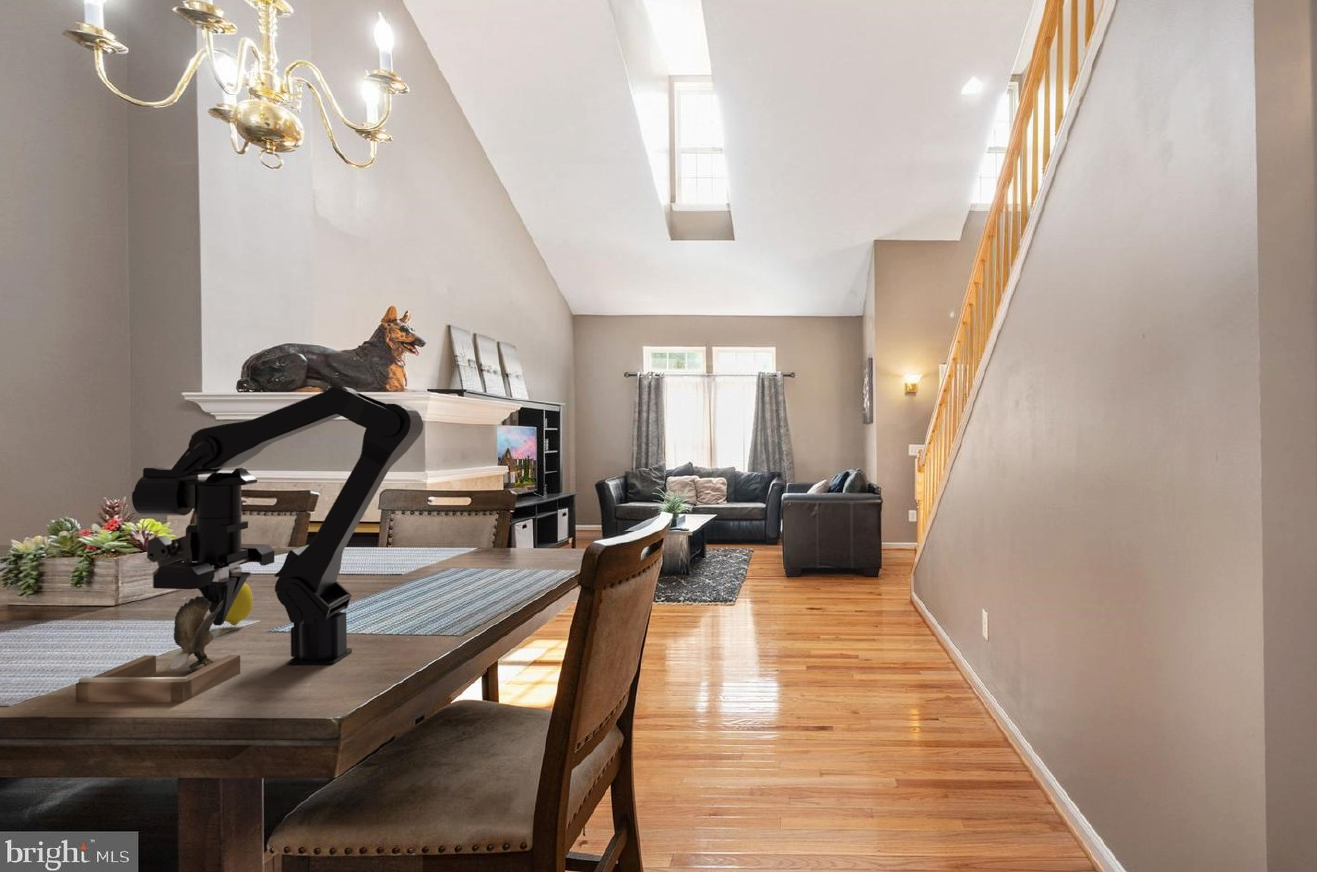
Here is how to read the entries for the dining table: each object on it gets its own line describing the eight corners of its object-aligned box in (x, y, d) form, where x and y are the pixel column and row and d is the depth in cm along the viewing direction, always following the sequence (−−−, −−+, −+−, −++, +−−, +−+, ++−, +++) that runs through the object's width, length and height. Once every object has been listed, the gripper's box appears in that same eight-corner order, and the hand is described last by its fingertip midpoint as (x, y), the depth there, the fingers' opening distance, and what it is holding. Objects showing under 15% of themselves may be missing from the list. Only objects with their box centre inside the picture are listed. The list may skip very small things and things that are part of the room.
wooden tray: (240, 673, 100) (240, 651, 100) (183, 704, 88) (183, 679, 88) (145, 673, 100) (144, 652, 100) (75, 704, 89) (75, 680, 89)
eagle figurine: (245, 654, 105) (238, 594, 104) (209, 678, 98) (200, 613, 97) (196, 653, 106) (189, 592, 105) (157, 676, 99) (148, 612, 98)
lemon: (212, 625, 126) (211, 578, 126) (248, 619, 130) (247, 574, 130) (219, 631, 122) (219, 582, 122) (257, 625, 126) (256, 578, 126)
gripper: (207, 506, 116) (207, 606, 116) (112, 524, 97) (113, 642, 98) (276, 508, 115) (276, 608, 116) (195, 526, 97) (195, 645, 97)
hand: (218, 624), depth 107 cm, fingers closed
